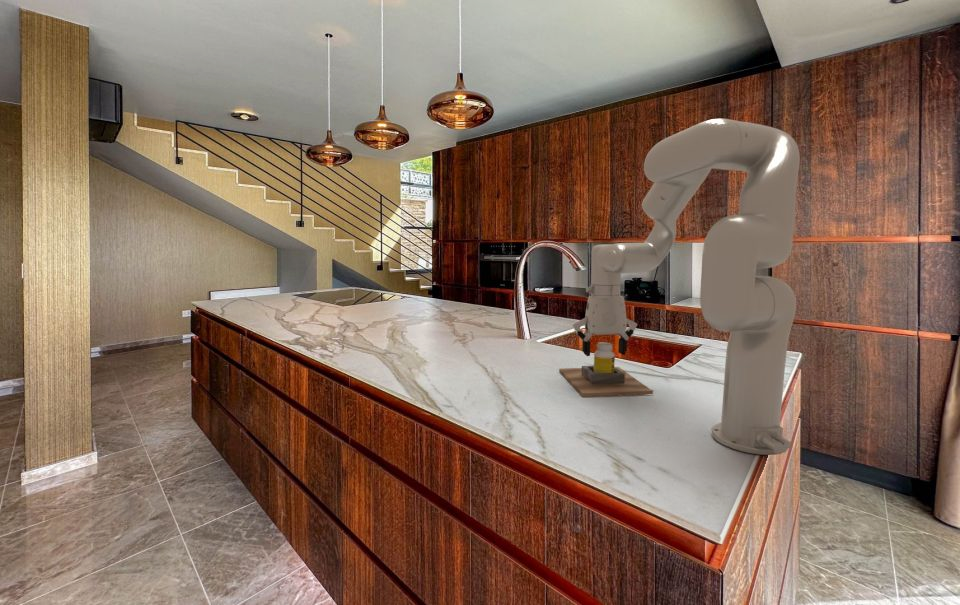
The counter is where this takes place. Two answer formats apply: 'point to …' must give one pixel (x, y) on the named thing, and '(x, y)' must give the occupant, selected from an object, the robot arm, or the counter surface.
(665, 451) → the counter surface
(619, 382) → the collar board
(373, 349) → the counter surface
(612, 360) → the supplement bottle
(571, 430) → the counter surface
